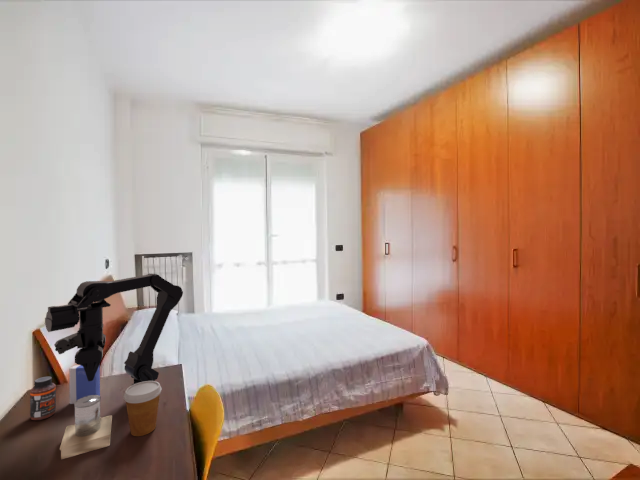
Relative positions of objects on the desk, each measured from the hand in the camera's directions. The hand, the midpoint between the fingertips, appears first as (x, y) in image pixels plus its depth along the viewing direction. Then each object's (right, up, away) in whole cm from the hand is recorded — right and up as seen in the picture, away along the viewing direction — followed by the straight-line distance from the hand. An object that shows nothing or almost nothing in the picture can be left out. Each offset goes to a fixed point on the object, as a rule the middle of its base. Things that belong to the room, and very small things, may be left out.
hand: (92, 374), depth 96 cm
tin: (+7, -10, -11) cm, 16 cm away
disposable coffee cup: (+19, -13, -6) cm, 24 cm away
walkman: (-9, -13, +10) cm, 19 cm away
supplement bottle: (-16, -13, +1) cm, 21 cm away
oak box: (+7, -13, -11) cm, 18 cm away
